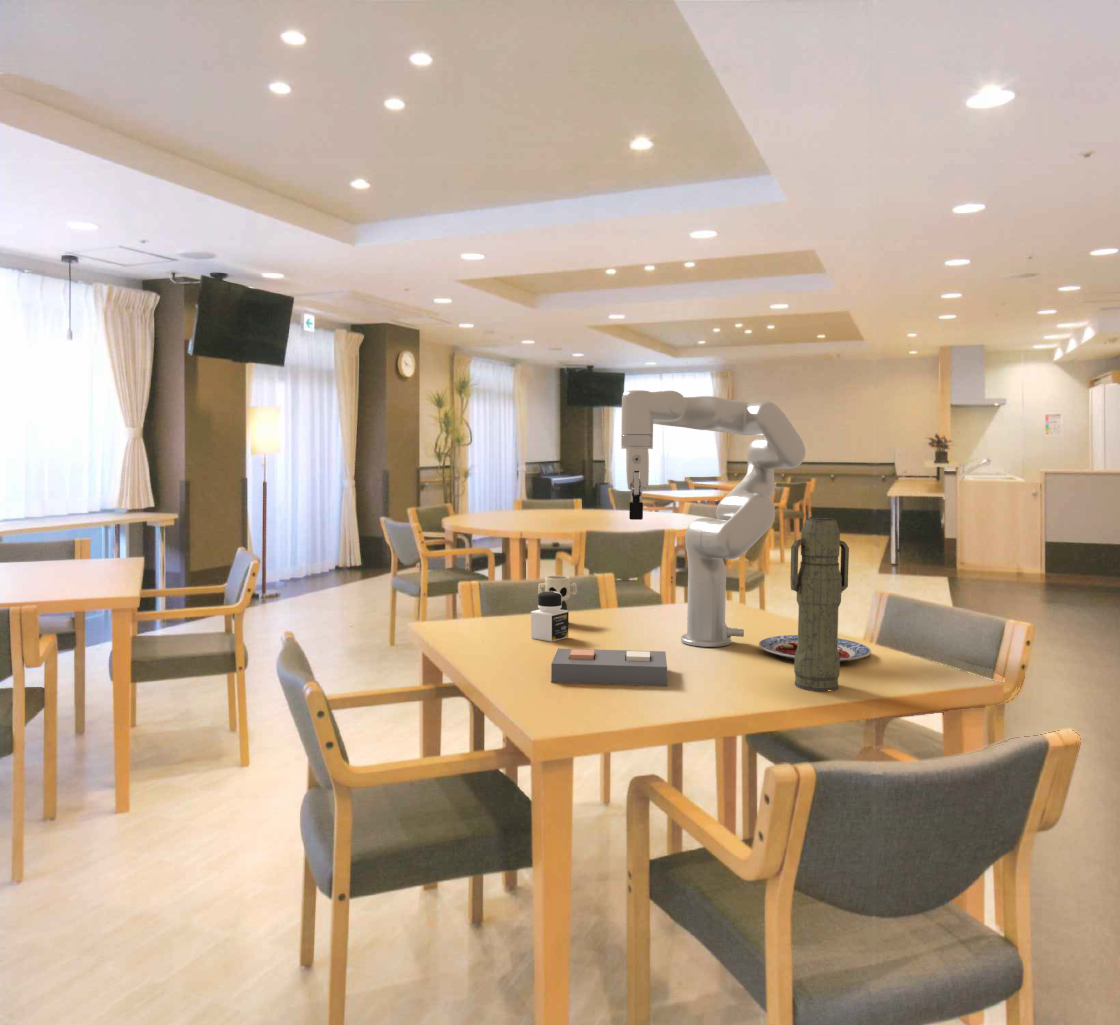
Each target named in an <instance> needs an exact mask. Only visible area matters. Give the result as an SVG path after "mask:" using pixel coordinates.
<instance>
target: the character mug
mask: <svg viewBox="0 0 1120 1025" xmlns="http://www.w3.org/2000/svg"><path fill="white" fill-rule="evenodd" d="M571 587H572V589H573V591H571ZM537 588H538V589H537V590H538V592H537V594H538V595H539V593H541V592H543V591H542V590H543V589H542V588H544V592H545V591H554V592H558V593H560V594H561V595H562V608H560V609H561V610H567V611H568V612H569V610H568V604H567V603H566V602H567V601H568V600H569V599H570V598H571V596H576V595H577V593H578V585H577V583H575V582H574V583H571V577H570V576H568V575H567V576H566V575H549V576H545V578H544V582H543V583H538V587H537Z"/></svg>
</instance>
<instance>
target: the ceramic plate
mask: <svg viewBox="0 0 1120 1025" xmlns="http://www.w3.org/2000/svg"><path fill="white" fill-rule="evenodd" d="M758 643H759V644H758V645H759V647H760V648H761V649H762V650H764V651H766V652H768V653H772V654H775V655H779V656H780V657H783V658H786V659H788V660H793V661H795V652H796V649H797V647H798V634H797V635H796V634H791V635H790V634H789V635H777V636H771V637H770V636H769V637H766V638H764V639H762V640H760V641H759V642H758ZM837 649H838V652H839V655H840V663H843V662H842V661H844V662H846V661H850V660H851V661H852V660H858V659H862V658H867V657H868V656H870V655H871V652H872V650H871V649H870V648H869V647H868V646H867V645H865V644H863V643H860V642H856V641H853V640H849V639H844V638H838V640H837Z"/></svg>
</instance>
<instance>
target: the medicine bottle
mask: <svg viewBox="0 0 1120 1025" xmlns="http://www.w3.org/2000/svg"><path fill="white" fill-rule="evenodd" d="M537 596H538V598H537V608H538V609H536V610H531V611H530V638H531V639H533V640H539V641H545V642H551V643H554V642H557V641H561V640H563V639H564V640H565V639H568V638H569V610H568V609H567V610H568V611H567V610H561V609H560V608H562V595H561V594H560V593H558V592H554V591H545V590H544V591H542V592H541V593H539V594H538V595H537Z"/></svg>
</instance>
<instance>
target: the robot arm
mask: <svg viewBox="0 0 1120 1025" xmlns="http://www.w3.org/2000/svg"><path fill="white" fill-rule="evenodd" d="M654 425H659V426H660V425H661V426H667V427H674V428H675V427H678V428H686V429H691V430H699V431H710V432H718V433H726V434H732V435H741V436H759V437H757V438H755V439H754V440H752V441H751V442H750V443H749V445H748V448H747V452H746V453H747V454H746V458H747V459H746V460H747V470H746V474H745V475H744V477H743V479H742V480H741V481H740V482H739V483H738V484H736V486H735V487H734V488H733V489H731V490H730V492H728V493H727V494H726V495H725V496H724V497H723V498H722V499H721V500H720V502H719V503H718V504H717V507H716V510H715V517H716V518H710V517H701V518H697V519H695V520H693V521H692V522H690V523H689V525H688V526H687V528H686V531H685V534H684V545H685V551H686V555H687V568H688V569H687V571H688V572H687V613H686V614H687V617H686V618H687V619H686V620H687V623H686V626H687V627H686V630H687V631H686V633H685V634H682V635H681V636H680V641H681V642H682V644H685V645H689V646H693V647H702V648H715V647H717V648H718V647H725V646H729V645H730V644H731V643H732V637H740V638H743V637H745V636H744V633H745V631H744V630H745V629H744V628H743V629H742V628H738V627H732V628H731V627H728V625H727V624H726V600H727V599H726V594H727V589H726V587H727V571H726V565H725V562H724V560H735V559H738V558H740V557H741V556H743V555H745V553H746V552H748V550H750V549H751V548H752V547H753V546H754V545H755V544H756V542H758V541H759V540H760V538H761V537H763V536H764V534H766V532H768V530H769V529H770V528H771V526H772V524H773V522H774V520H775V516H776V507H775V504H774V501H773V500H772V499H771V497H772V496H773V495H774V492H775V489H776V488H775V487H776V483H775V482H776V481H775V471H774V469H776V470H778V469H779V470H792V469H795V468H797V467H799V466H800V465H801V464H802V463H803V462H804V461H805V460H804V459H805V457H806V447H805V444H804V442H803V439H802V438H801V436H800V435H799V433H798V432H797V430H796V429H795V427H794V426H793V424H792V422H791V421H790V420H789V418H788V417H787V416H786V414H785V413H784V411H782V409H781V407H779V406H778V405H777V404H775V402H772V401H769V400H764V401H743V400H736V399H729V398H723V397H720V396H719V397H718V396H710V395H709V396H704V395H703V396H692V397H691V396H689V397H688V396H687V397H685V396H684V395H683V394H682V393H680V392H678V391H676V390H663V391H662V390H659V391H649V390H638V389H637V390H634V389H633V390H626V391H624V392H623V393H622V396H621V432H620V433H621V434H620V435H621V443H620V447H621V449H626V451H625V453H626V455H625V457H626V458H625V459H626V460H625V463H626V464H625V465H626V466H625V467H626V468H625V470H626V484H627V490H630V502H629V514H628V515H629V517H628V518H629V520H632V521H633V520H639V521H640V520H643V518H644V502H643V488H644V489H645V490H644V491H648V490H649V480H650V479H649V477H650V476H649V475H650V474H649V472H650V470H649V467H650V465H649V464H650V462H649V460H650V456H649V455H650V454H649V450H650V449H651V450H652V449H654Z"/></svg>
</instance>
